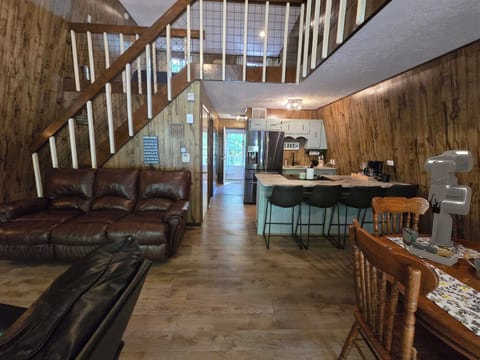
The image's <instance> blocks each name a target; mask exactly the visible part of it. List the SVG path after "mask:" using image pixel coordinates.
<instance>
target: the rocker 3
mask: <svg viewBox="0 0 480 360" xmlns="http://www.w3.org/2000/svg"><path fill="white" fill-rule="evenodd" d="M439 250H440V251H438V252H437V255H442V256H444V257H447V256H452V255H453V254H454V252H453V251H448V250H441V249H439Z"/></svg>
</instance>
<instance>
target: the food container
mask: <svg viewBox="0 0 480 360" xmlns="http://www.w3.org/2000/svg"><path fill="white" fill-rule="evenodd" d="M418 237H419V232H418V231H417V230H415V229H412V228H407V227H402V243H403V244H404V243H405V244H404V245H405V246H407V247H408V246H412V245H411V243H412V242H414V241H415V242H417V238H418Z"/></svg>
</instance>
